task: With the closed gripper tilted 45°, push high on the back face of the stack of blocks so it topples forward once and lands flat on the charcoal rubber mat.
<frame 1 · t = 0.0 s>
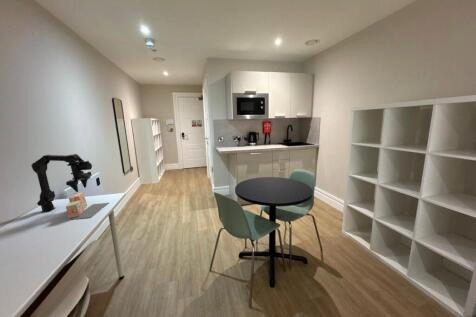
hand: (81, 189, 157), 15 cm above the table, tool pointing down, fingers open, 9 cm apart
stack of blocks: (78, 211, 151), on the table, touching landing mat
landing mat: (91, 210, 152), on the table
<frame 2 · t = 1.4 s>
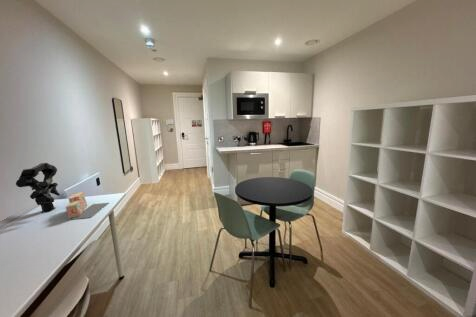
hand: (55, 197, 147), 14 cm above the table, tool tilted 45°, fingers open, 7 cm apart
nothing on the table moved.
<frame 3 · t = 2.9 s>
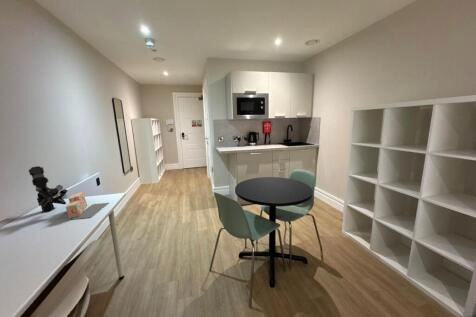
hand: (65, 203, 149), 8 cm above the table, tool tilted 45°, fingers closed
nothing on the table moved.
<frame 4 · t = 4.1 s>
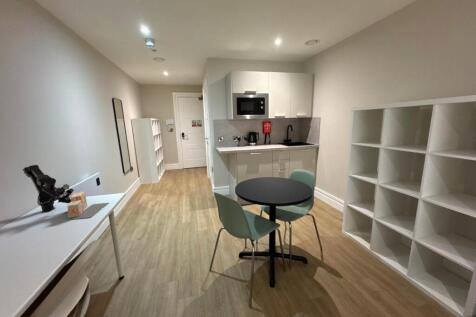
hand: (72, 203, 149), 8 cm above the table, tool tilted 45°, fingers closed
stack of blocks: (78, 211, 151), point 1 cm above the table, touching gripper, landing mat
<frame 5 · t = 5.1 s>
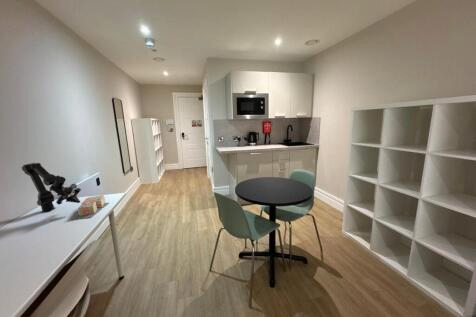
hand: (79, 202, 150), 8 cm above the table, tool tilted 45°, fingers closed
stack of blocks: (82, 206, 152), point 4 cm above the table, touching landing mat
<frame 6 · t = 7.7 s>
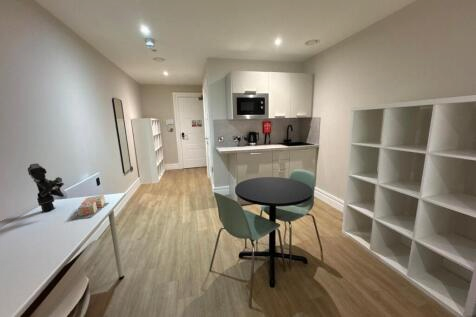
hand: (63, 196, 150), 13 cm above the table, tool tilted 40°, fingers closed
nothing on the table moved.
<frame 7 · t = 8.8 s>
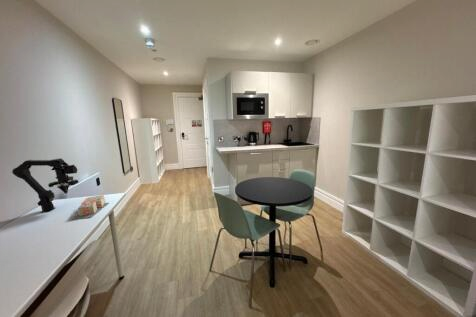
hand: (66, 193, 158), 12 cm above the table, tool pointing down, fingers closed
nothing on the table moved.
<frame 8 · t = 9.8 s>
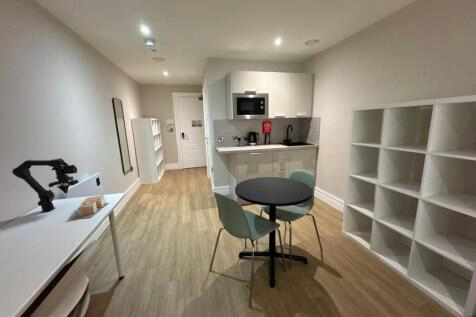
hand: (66, 193, 158), 12 cm above the table, tool pointing down, fingers closed
nothing on the table moved.
at the end: stack of blocks tilted 90°; stack of blocks touching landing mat; stack of blocks inside the target area (2.3 cm from its centre), point 3.6 cm above the table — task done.
